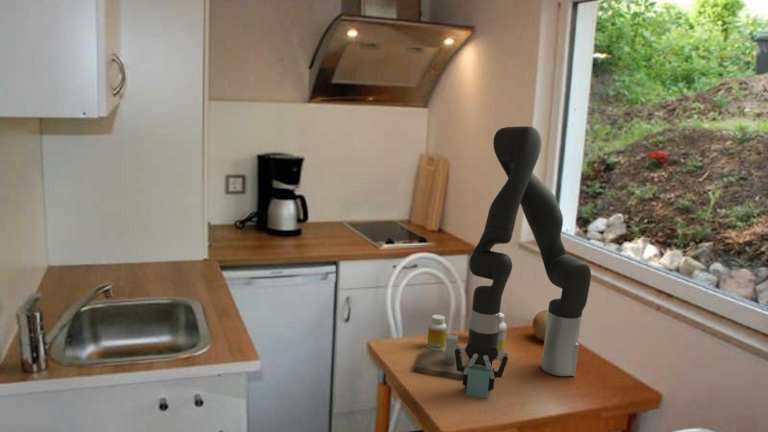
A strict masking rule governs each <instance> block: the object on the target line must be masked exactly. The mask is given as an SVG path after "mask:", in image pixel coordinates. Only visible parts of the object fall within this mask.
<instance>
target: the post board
mask: <svg viewBox="0 0 768 432" xmlns="http://www.w3.org/2000/svg"><path fill="white" fill-rule="evenodd" d="M445 354H446V350H445V351H444V350H433V349H430V348H425V347H422V349H421V351H420V354H419V356H418V358H417V361H416V363H415V365H414V370H413V372H415V373H418V374H419V373H420V374H425V375H431V376H439V377H443V378H449V379H457V380H461V381H463V373H462V372H461V371H457V367H456V362H455V365H453V364H447V363H445ZM461 358H462V365H463V366H466V364H467V363H468V361H469V357H468V355H467V354H464V353H463V356H461Z"/></svg>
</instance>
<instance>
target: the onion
mask: <svg viewBox="0 0 768 432" xmlns="http://www.w3.org/2000/svg"><path fill="white" fill-rule="evenodd" d="M547 317H548V309H544V310H541V311H539V312H538V313H537V314H535V316H534V318H533V319H532V327H531V328H532V331H533V333H534V335H535V337H537V339H539V340H541V341H543V342H544V341H545V333H546V325H547Z"/></svg>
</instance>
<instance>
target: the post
mask: <svg viewBox="0 0 768 432" xmlns="http://www.w3.org/2000/svg"><path fill="white" fill-rule="evenodd" d="M458 341H459V335H454V334H448V335H447V337H446V342H445V352H446V354H445V363H447V364H453V365H455V362H456V358H455V349H456V347H457V346H458Z"/></svg>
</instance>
